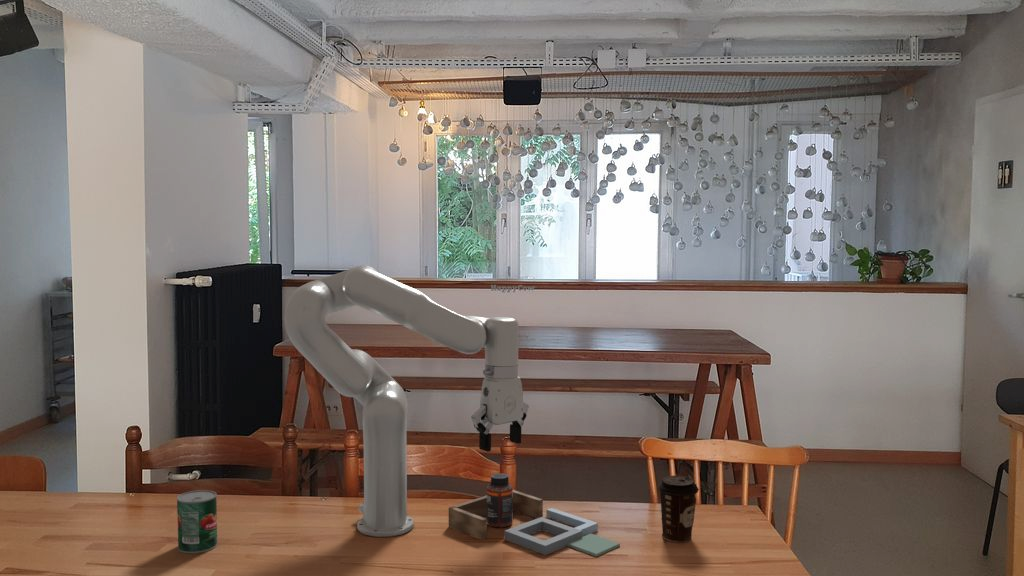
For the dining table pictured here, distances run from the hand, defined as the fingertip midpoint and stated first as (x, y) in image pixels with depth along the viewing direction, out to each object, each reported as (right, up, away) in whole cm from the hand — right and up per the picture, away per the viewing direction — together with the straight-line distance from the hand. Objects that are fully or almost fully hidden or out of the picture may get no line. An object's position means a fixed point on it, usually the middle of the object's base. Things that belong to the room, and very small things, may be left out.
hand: (500, 446), depth 189 cm
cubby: (-1, -18, +2) cm, 18 cm away
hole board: (+9, -19, -8) cm, 23 cm away
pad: (+20, -19, -11) cm, 30 cm away
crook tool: (+15, -18, 0) cm, 23 cm away
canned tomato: (-64, -19, -13) cm, 68 cm away
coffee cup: (+39, -19, -6) cm, 44 cm away
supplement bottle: (0, -18, +1) cm, 18 cm away
